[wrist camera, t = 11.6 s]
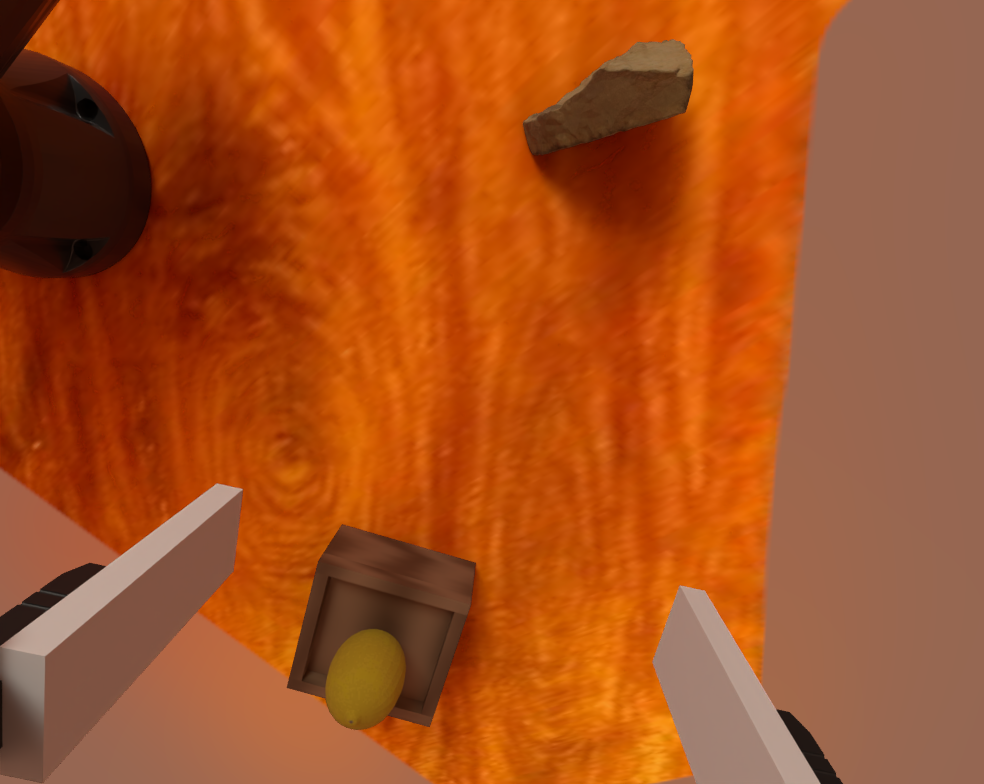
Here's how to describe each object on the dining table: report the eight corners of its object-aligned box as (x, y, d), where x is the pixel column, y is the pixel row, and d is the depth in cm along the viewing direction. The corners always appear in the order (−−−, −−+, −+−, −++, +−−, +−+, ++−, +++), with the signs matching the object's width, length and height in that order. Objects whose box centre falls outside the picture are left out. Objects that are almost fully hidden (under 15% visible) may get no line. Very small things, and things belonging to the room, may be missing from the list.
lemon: (408, 605, 41) (386, 685, 33) (417, 663, 42) (398, 754, 35) (340, 609, 41) (302, 690, 34) (351, 667, 43) (317, 758, 35)
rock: (511, 191, 36) (660, 205, 34) (505, 71, 28) (698, 82, 27) (535, 86, 40) (669, 94, 39) (536, -45, 32) (704, -40, 31)
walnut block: (314, 634, 48) (286, 687, 42) (343, 521, 45) (318, 561, 39) (439, 669, 48) (429, 727, 42) (476, 560, 46) (471, 604, 40)
